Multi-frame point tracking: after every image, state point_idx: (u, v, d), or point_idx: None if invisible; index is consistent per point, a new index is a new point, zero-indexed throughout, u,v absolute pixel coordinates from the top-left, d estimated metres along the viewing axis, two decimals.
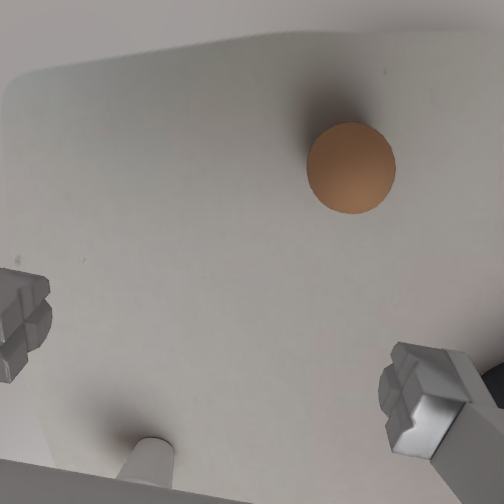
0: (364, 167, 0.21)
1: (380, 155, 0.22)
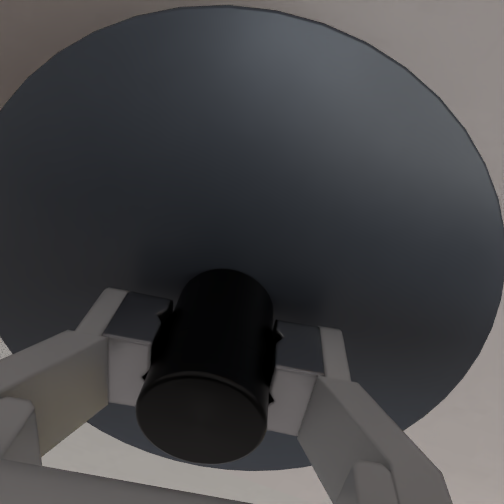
0: None
1: None
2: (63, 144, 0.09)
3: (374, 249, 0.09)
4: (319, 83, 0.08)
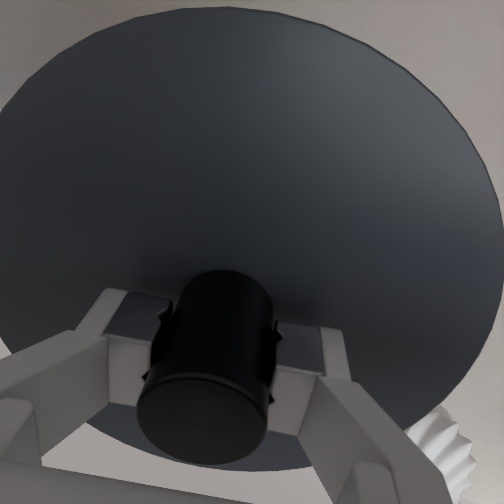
0: None
1: None
2: (63, 145, 0.09)
3: (374, 250, 0.09)
4: (319, 85, 0.08)
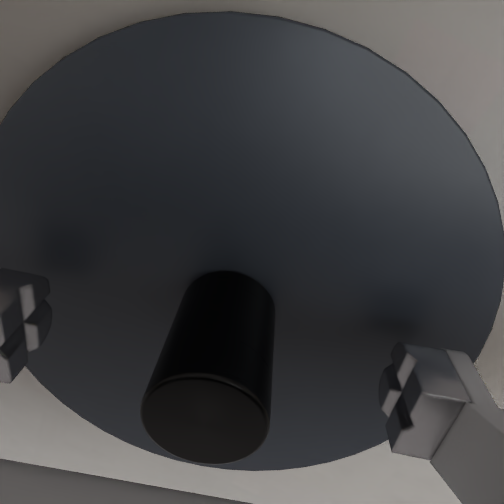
0: None
1: None
2: (68, 148, 0.09)
3: (375, 251, 0.09)
4: (321, 88, 0.08)
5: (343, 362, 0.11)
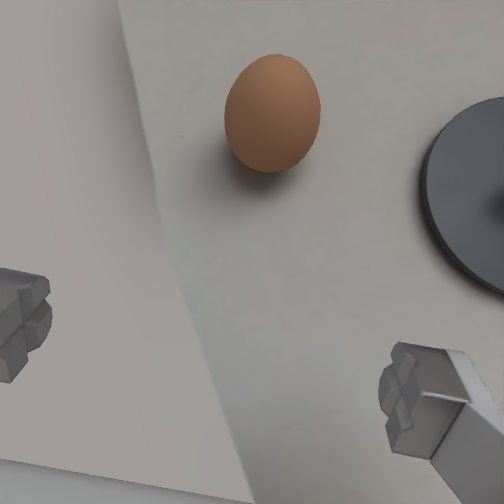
0: (253, 77, 0.19)
1: (240, 75, 0.20)
2: (447, 178, 0.25)
3: None
4: (488, 113, 0.26)
5: None
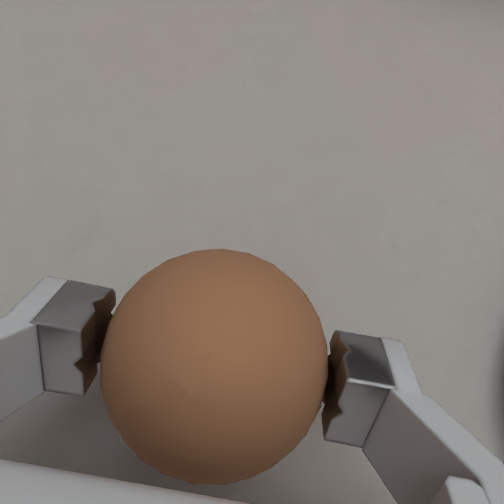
0: (138, 363, 0.06)
1: (118, 320, 0.07)
2: None
3: None
4: None
5: None
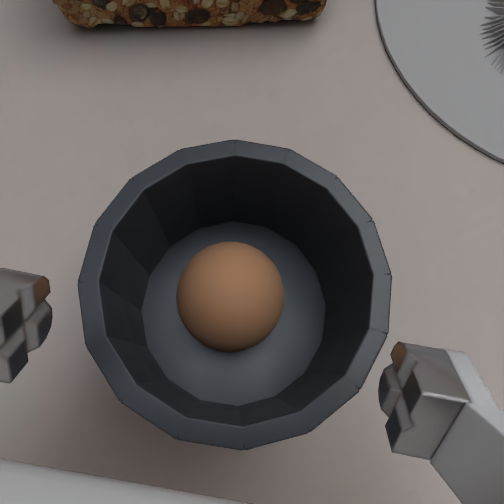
0: (202, 283, 0.16)
1: (190, 269, 0.17)
2: None
3: None
4: None
5: None
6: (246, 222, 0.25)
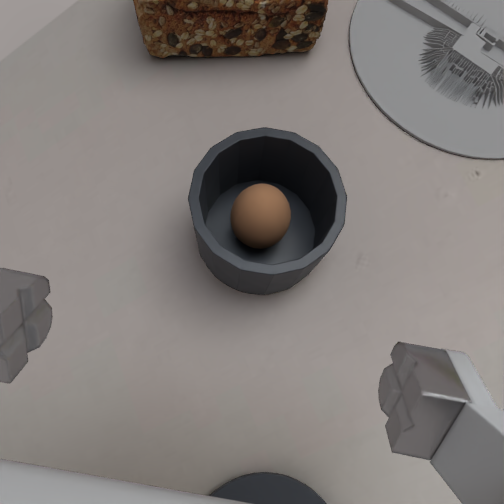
0: (249, 201, 0.32)
1: (241, 196, 0.33)
2: None
3: None
4: (233, 495, 0.32)
5: None
6: (266, 180, 0.40)
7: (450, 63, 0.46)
